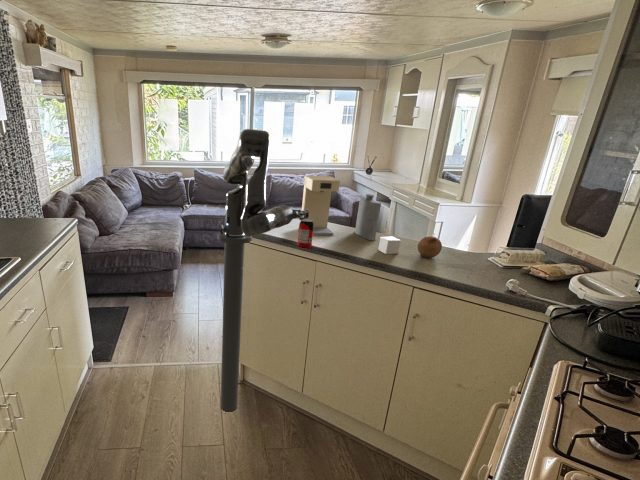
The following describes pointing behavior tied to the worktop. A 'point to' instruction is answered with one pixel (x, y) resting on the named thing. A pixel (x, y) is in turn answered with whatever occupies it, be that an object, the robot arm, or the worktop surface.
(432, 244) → the onion
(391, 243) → the white cube
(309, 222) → the beverage can
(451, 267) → the worktop surface
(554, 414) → the worktop surface
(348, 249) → the worktop surface
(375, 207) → the hip flask
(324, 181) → the coffee maker
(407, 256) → the worktop surface
